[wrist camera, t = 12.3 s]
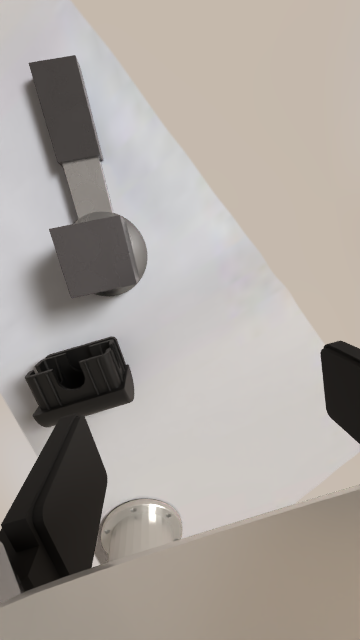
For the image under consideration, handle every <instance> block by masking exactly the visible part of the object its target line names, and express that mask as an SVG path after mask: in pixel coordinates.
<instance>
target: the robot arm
mask: <svg viewBox="0 0 360 640" xmlns="http://www.w3.org/2000/svg"><path fill="white" fill-rule="evenodd" d="M321 362H322V372H323V382H324V392H325V402H326V410H327V413H328V415H329V416H330V417H331V418H332V419H333V420H334V421H335V422H336V423H337V424H338V425H339V426H340V427H342V428H343V429H344V430H345V431H346V432H347V433H348V434H349V435H350V436H352V437H353V438H354V439H355V440H356V441H357V442H358V443H359V444H360V349H359V348H357V347H354V346H352V345H350V344H347V343H345V342H343V341H337V342H334V343H330V344H326V345H325V346H324V349H322V350H321ZM106 487H107V473H106V470H105V468H104V465H103V463H102V460H101V457H100V455H99V452H98V450H97V447H96V445H95V442H94V439H93V437H92V434H91V432H90V429H89V426H88V424H87V421H86V419H85V417H84V416H83V415H82V416H80V415H79V414H78V413H75V414H71V415H67V416H64V417H61V418H60V419H59V421H58V423H57V424H56V426H55V428H54V430H53V432H52V433H51V435H50V437H49V439H48V441H47V442H46V444H45V446H44V448H43V450H42V451H41V453H40V455H39V457H38V459H37V461H36V463H35V464H34V466H33V468H32V470H31V471H30V473H29V475H28V477H27V479H26V480H25V482H24V484H23V486H22V488H21V490H20V491H19V493H18V495H17V497H16V499H15V500H14V502H13V504H12V506H11V508H10V510H9V511H8V513H7V515H6V517H5V519H4V520H3V522H2V524H1V526H2V529H1V531H0V640H360V485H357V486H353V487H350V488H347V489H343V490H340V491H336V492H333V493H330V494H326V495H323V496H320V497H317V498H314V499H310V500H307V501H304V502H300V503H297V504H294V505H290V506H287V507H284V508H280V509H277V510H274V511H271V512H267V513H264V514H261V515H258V516H254V517H251V518H248V519H245V520H241V521H238V522H235V523H232V524H228V525H225V526H222V527H219V528H215V529H212V530H209V531H206V532H203V533H199V534H196V535H193V536H190V537H187V538H183V539H181V537H182V522H181V519H180V516H179V514H178V513H177V511H176V510H175V509H174V508H173V507H171V506H170V505H168V504H166V503H164V502H162V501H158V500H154V499H138V500H134V501H130V502H127V503H125V504H122V505H121V506H119V507H117V508H116V509H115V510H113V511H112V512H111V513H110V514H109V515H108V516H107V518H106V519H105V521H104V523H103V527H102V531H101V544H102V546H103V549H104V550H105V552H106V553H107V554H108V563H105V564H102V565H99V566H96V567H93V568H91V567H92V561H93V557H94V551H95V546H96V541H97V535H98V530H99V524H100V519H101V514H102V508H103V503H104V498H105V492H106Z"/></svg>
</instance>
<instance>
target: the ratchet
mask: <svg viewBox="0 0 360 640" xmlns="http://www.w3.org/2000/svg"><path fill="white" fill-rule="evenodd" d="M29 66H30V69H31V73H32V76H33V79H34V83H35V86H36V90H37V93H38V97H39V100H40V103H41V107H42V110H43V114H44V117H45V120H46V124H47V127H48V131H49V134H50V137H51V141H52V144H53V148H54V151H55V154H56V158H57V161H58V163H59V164H60V165H61V166H62V167H63V168H64V171H65V174H66V178H67V181H68V185H69V188H70V192H71V195H72V199H73V202H74V205H75V209H76V212H77V216H78V220H77V221H76V222H74V224H77V223H82V222H87V221H92V220H97V219H102V218H107V217H112V216H117V215H118V214H115V213H114V212H113V208H112V204H111V200H110V196H109V192H108V188H107V184H106V180H105V177H104V173H103V169H102V165H101V161H102V160H103V157H102V153H101V149H100V145H99V141H98V137H97V133H96V129H95V125H94V121H93V117H92V113H91V109H90V105H89V101H88V97H87V93H86V89H85V85H84V81H83V76H82V72H81V68H80V66H79V63H78V61H77V58H76V56H75V55H74V56H68V57H62V58H56V59H50V60H44V61H37V62H31V63H29ZM121 217H122V216H121ZM122 218H123V219H124V220H125V221H126V224H127V228H128V232H129V236H130V240H131V244H132V248H133V253H134V257H135V261H136V265H137V269H138V273H139V280H138V282H139V281H140V279H141V278H142V276H143V274H144V271H145V269H146V264H147V248H146V244H145V241H144V239H143V237H142V235H141V233H140V232H139V231H138V229H137V228H136V227H135V226H134V225H133V224H132V223H131V222H130V221H129V220H127V219H126V218H124V217H122ZM138 282H137V283H138ZM135 285H136V284H135ZM135 285H131V286H126V287H121V288H117V289H112V290H107V291H103V292H98V293H93V294H96V295H101V296H115V295H119V294H122V293H125V292H127V291H129V290H130V289H132V288H133V287H134V286H135Z"/></svg>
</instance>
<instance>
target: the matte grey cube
mask: <svg viewBox="0 0 360 640" xmlns="http://www.w3.org/2000/svg"><path fill="white" fill-rule="evenodd" d="M49 231H50V234H51V237H52V240H53V243H54V246H55V249H56V252H57V255H58V258H59V261H60V265H61V268H62V271H63V274H64V277H65V280H66V283H67V286H68V289H69V292H70V295H71V298H74V297H79V296H84V295H89V294H93V293H98V292H103V291H107V290H112V289H117V288H121V287H126V286H131V285H135V284H137V282H138V280H139V273H138V269H137V265H136V261H135V257H134V253H133V248H132V244H131V240H130V236H129V232H128V228H127V224H126V221H125V220H124V219H123V218H122V217H121V216H120V215H117V216H112V217H107V218H102V219H97V220H92V221H87V222H82V223H77V224H72V225H67V226H62V227H57V228H52V229H49Z"/></svg>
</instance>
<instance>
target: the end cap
mask: <svg viewBox="0 0 360 640" xmlns="http://www.w3.org/2000/svg"><path fill="white" fill-rule="evenodd" d="M35 367H36V369H37V371H38V373H37V374H35V372H34V370H33V371H30V372H29V373H28V374H27V375H26V376H25V379H26V381H27V383H28V385H29V387H30V389H31V391H32V393H33V395H34V397H35V399H36V401H37V403H38V405H39V407H38V408H37V410H36V411H35V413H34V414H33V417H34V419H35V420H36V421H37V422H38V423H39V424H40V425H41V426H44V427H51V426H54V425H56V424H57V423H58V421H59V419H60V418H61V417H64V416H67V415H71V414H75V413H78V414H79V415H80V416H82V415H83V416H87V415H90V414H94V413H97V412H100V411H104V410H107V409H110V408H114V407H117V406H120V405H124V404H127V403H130V402H132V401H133V399H134V384H133V379H132V375H131V371H130V368H129V365H126V364H125V361H124V358H123V355H122V352H121V350H120V347H119V344H118V342H117V339H116V338H115V337H108V338H105V339H101V340H98V341H95V342H91V343H88V344H84V345H81V346H77V347H74V348H71V349H67V350H64V351H60V352H57V353H53V354H50V355H48V356H47V357H46V359H43V360H41V361H40V362H39V363H38V364H37V365H36V366H35Z"/></svg>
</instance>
